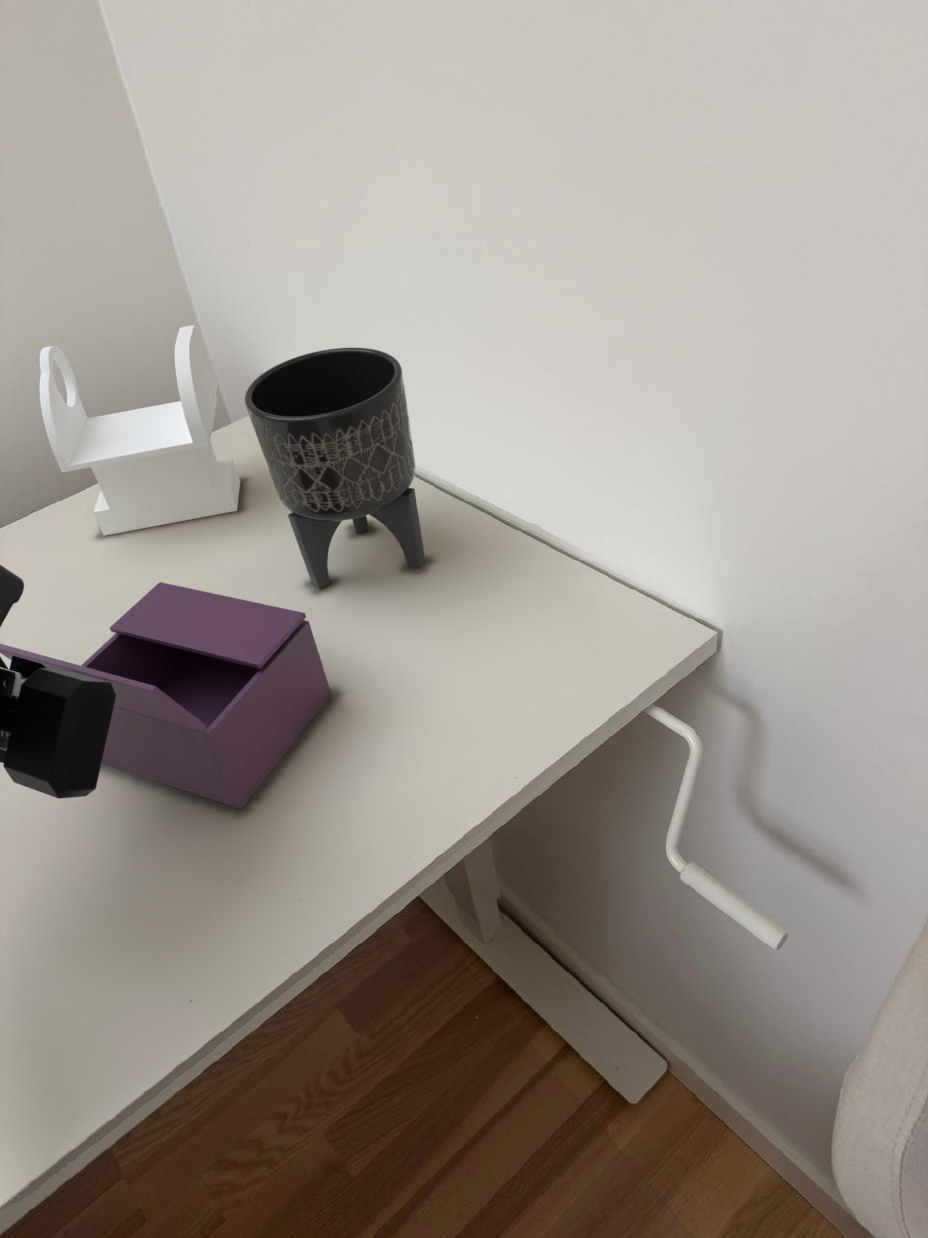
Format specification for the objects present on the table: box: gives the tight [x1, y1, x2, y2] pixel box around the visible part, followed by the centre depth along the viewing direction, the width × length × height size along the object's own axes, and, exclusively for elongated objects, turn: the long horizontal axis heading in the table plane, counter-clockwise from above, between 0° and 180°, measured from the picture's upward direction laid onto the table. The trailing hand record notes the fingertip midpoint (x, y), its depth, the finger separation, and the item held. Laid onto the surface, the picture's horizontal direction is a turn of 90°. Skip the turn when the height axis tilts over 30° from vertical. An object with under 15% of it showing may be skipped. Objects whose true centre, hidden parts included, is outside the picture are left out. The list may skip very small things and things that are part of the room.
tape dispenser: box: [39, 324, 241, 537], centre depth 96 cm, size 14×13×18 cm
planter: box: [244, 346, 426, 590], centre depth 83 cm, size 13×13×18 cm
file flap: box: [0, 643, 205, 730], centre depth 62 cm, size 6×14×1 cm
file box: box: [80, 581, 332, 810], centre depth 71 cm, size 12×14×8 cm
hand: (84, 706), depth 61 cm, fingers closed
